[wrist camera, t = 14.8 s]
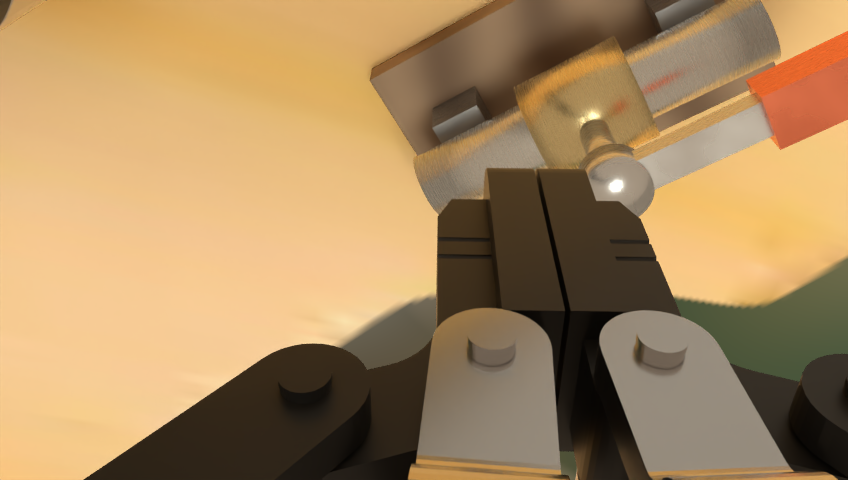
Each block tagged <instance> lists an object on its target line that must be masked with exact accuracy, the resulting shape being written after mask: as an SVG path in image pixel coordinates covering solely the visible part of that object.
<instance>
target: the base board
mask: <svg viewBox="0 0 848 480" xmlns="http://www.w3.org/2000/svg"><path fill="white" fill-rule="evenodd" d="M723 1H724V0H714V2H715V5H717V4H719V3H721V2H723ZM657 34H658V33H657V31H656V28H655V26H654V23H653V21H652V19H651V16H650V14H649V11H648V9H647V6H646V4H645V2H644V0H496V1H494V2H492V3H490V4H489V5H487V6H485V7H483V8H481V9H480V10H478V11H476V12H474V13H472V14H471V15H469V16H467V17H465V18H463V19H462V20H460V21H458V22H456V23H454V24H453V25H451V26H449V27H447V28H445V29H443V30H442V31H440V32H438V33H436V34H434V35H433V36H431V37H429V38H427V39H425V40H424V41H422V42H420V43H418V44H416V45H415V46H413V47H411V48H409V49H407V50H406V51H404V52H402V53H400V54H398V55H396V56H395V57H393V58H391V59H389V60H387V61H386V62H384V63H382V64H380V65H378V66H377V67H375V68H373V69H372V72H371V77H370V82H371V83H372V85H373V86H374V88H375V89H376V91H377V93H378V94H379V96H380V97H381V99H382V100H383V102H384V104H385V105H386V107H387V108H388V110H389V111H390V113H391V115H392V116H393V118H394V119H395V121H396V123H397V124H398V126H399V127H400V129H401V130H402V132H403V134H404V135H405V137H406V138H407V140H408V141H409V143H410V145H411V146H412V148H413V149H414V151H415V152H416V154H417V156H418V155H420V154H422V153H424V152H426V151H428V150H430V149H432V148H434V147H436V146H438V145H440V144H442V143H441V142H440V140H439V138H438V137H437V135H436V133H435V132H434V130H433V129H432V113H433V108H434V107H436V106H437V105H439V104H441V103H443V102H445V101H447V100H449V99H451V98H453V97H455V96H457V95H459V94H460V93H462V92H464V91H466V90H468V89H470V88H472V87H474V86H475V87H476V89H477V91H478V93H479V94H480V96H481V98H482V100H483V102H484V103H485V105H486V107H487V109H488V110H489V112H490V114H491V116H492V118H493V117H495V116H497V115H499V114H501V113H503V112H505V111H507V110H509V109H511V108H513V107H515V106H517V105H518V103H517V100H516V97H515V93H514V87H515V86H517V85H519V84H521V83H523V82H525V81H527V80H529V79H531V78H533V77H535V76H537V75H539V74H540V73H542V72H544V71H546V70H548V69H550V68H552V67H554V66H556V65H558V64H560V63H562V62H564V61H566V60H568V59H570V58H572V57H574V56H576V55H577V54H579V53H581V52H583V51H585V50H587V49H589V48H591V47H593V46H595V45H597V44H599V43H601V42H603V41H605V40H607V39H609V38H611V37H612V36H614V37H615V39H616V40H617V42H618V44H619V46H620V48H621V50H622V52H624V51H626V50H628V49H630V48H632V47H634V46H636V45H637V44H639V43H641V42H643V41H645V40H647V39H649V38H651V37H653V36H655V35H657ZM774 66H775V63H774V61H773V62H771V63H769V64H767V65H765V66H762V67H760V68H758V69H756V70H754V71H752V72H750V73H748V74H746V75H743V76H741V77H739V78H737V79H735V80H733V81H731V82H729V83H727V84H724V85H722V86H720V87H718V88H716V89H714V90H712V91H710V92H708V93H706V94H703V95H701V96H699V97H697V98H695V99H693V100H691V101H689V102H687V103H684V104H682V105H680V106H678V107H676V108H674V109H672V110H670V111H668V112H665V113H663V114H661V115H659V116H657V117H655V118H654V121H655V123H656V126H657V128H658V131H659V132H660V131H662V130H664V129H667V128H669V127H671V126H673V125H675V124H677V123H679V122H681V121H684V120H686V119H688V118H690V117H692V116H694V115H696V114H699V113H701V112H703V111H705V110H707V109H709V108H711V107H714V106H716V105H718V104H720V103H722V102H724V101H726V100H729V99H731V98H733V97H735V96H737V95H739V94H741V93H743V92H746V91H748V90H749V88H748V85H747V83H746V80H747V79H749V78H751V77H753V76H755V75H757V74H760V73H762V72H764V71H766V70H768V69H770V68H772V67H774ZM548 169H549V168H548Z"/></svg>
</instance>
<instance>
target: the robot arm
mask: <svg viewBox="0 0 848 480" xmlns="http://www.w3.org/2000/svg"><path fill="white" fill-rule="evenodd" d="M45 1H47V0H0V31H1V30H2V29H4V28H6V27H7V26H9V25H10V24H12V23H13V22H14V21H16V20H17V19H19V18H20V17H22V16H23V15H25V14H26V13H28V12H30V11H31V10H33V9H34V8H36V7H37V6H39V5H40V4H42V3H44V2H45ZM559 451H574V454H575V460H576V465H577V473H576V480H848V354H833V355H826V356H823V357H820V358H817V359H815V360H814V361H812V362H810V363H809V364H808V365H807V366H806V368H805V370H804V371H803V373H802V376H801V379H800V382H797V381H793V380H789V379H785V378H781V377H776V376H772V375H768V374H764V373H759V372H755V371H751V370H748V369H745V368H741V367H738V366H736V365H733V364H731V363H729V362H728V360H727V358H726V356H725V355H724V353H723V351H722V350H721V348H720V346H719V345H718V343H717V342H716V340H715V339H714V338H713V337H712V336H711V335H710V334H709V333H708V332H707V331H705V330H704V329H703V328H702V327H700V326H699V325H697V324H695V323H693V322H692V321H689V320H687V319H685V318H683V317H681V315H680V312H679V310H678V307H677V305H676V303H675V300H674V298H673V295H672V293H671V291H670V288H669V286H668V284H667V281H666V279H665V276H664V274H663V272H662V269H661V267H660V264H659V262H658V261H656V255H655V253H654V250H653V248H652V245H651V244H649V238H648V236H647V234H646V231H645V229H644V226H643V224H642V222H641V219H640V218H638V217H637V216H636V215H635V214H634V213H632V212H631V211H630V210H629V209H628V208H627V207H625V206H624V205H623V204H622V203H621V202H620V201H596V199H595V196H594V193H593V190H592V187H591V184H590V181H589V178H588V175H587V172H586V170H585V169H548V168H537V169H536V171H534V169H533V168H486V170H485V177H484V193H483V199H451V201H450V202H449V203H448V204H447V206H446V207H445V208H444V209H443V211H442V212H441V213H440V214H439V216H438V236H437V292H436V331H435V333H434V335H433V337H432V339H431V341H430V342H429V343H428V344H427V345H426V346H425V347H424V348H423V349H422V350H420V351H419V352H418V353H416V354H415V355H413V356H411V357H409V358H407V359H405V360H403V361H400V362H398V363H394V364H391V365H387V366H382V367H378V368H374V369H369V370H367V369H366V367H365V366H364V364H363V363H362V362H361V361H360V360H359V359H358V358H357V357H356V356H354V355H353V354H351V353H350V352H348V351H346V350H344V349H342V348H338V347H335V346H331V345H325V344H301V345H295V346H290V347H287V348H284V349H281V350H278V351H276V352H274V353H271V354H270V355H268V356H266V357H265V358H263V359H261V360H260V361H258V362H257V363H255V364H254V365H253V366H251V367H250V368H248V369H247V370H245V371H244V372H242V373H241V374H239V375H238V376H236V377H235V378H233V379H232V380H230V381H229V382H227V383H226V384H224V385H223V386H221V387H220V388H219V389H217V390H216V391H214V392H213V393H211V394H210V395H208V396H207V397H205V398H204V399H202V400H201V401H199V402H198V403H196V404H195V405H193V406H192V407H190V408H189V409H187V410H186V411H185V412H183V413H182V414H180V415H179V416H177V417H176V418H174V419H173V420H171V421H170V422H168V423H167V424H165V425H164V426H162V427H161V428H159V429H158V430H156V431H155V432H153V433H152V434H151V435H149V436H148V437H146V438H145V439H143V440H142V441H140V442H139V443H137V444H136V445H134V446H133V447H131V448H130V449H128V450H127V451H125V452H124V453H122V454H121V455H119V456H118V457H116V458H115V459H114V460H112V461H111V462H109V463H108V464H106V465H105V466H103V467H102V468H100V469H99V470H97V471H96V472H94V473H93V474H91V475H90V476H88V477H87V478H85V479H84V480H570V478H569V476H568V475H561V468H560V455H559Z"/></svg>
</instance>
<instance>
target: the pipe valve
mask: <svg viewBox="0 0 848 480" xmlns="http://www.w3.org/2000/svg"><path fill="white" fill-rule="evenodd" d="M644 2H645V4H646V6H647V9H648V11H649V14H650V16H651V19H652V21H653V23H654V26H655V28H656V31H657V33H658V34H657V35H655V36H653V37H651V38H649V39H647V40H645V41H643V42H641V43H639V44H637V45H636V46H634V47H632V48H630V49H628V50H626V51H624V52H622V50H621V48H620V46H619V44H618V42H617V40H616V39H615V37H614V36H612V37H611V38H609V39H607V40H605V41H603V42H601V43H599V44H597V45H595V46H593V47H591V48H589V49H587V50H585V51H583V52H581V53H579V54H577V55H576V56H574V57H572V58H570V59H568V60H566V61H564V62H562V63H560V64H558V65H556V66H554V67H552V68H550V69H548V70H546V71H544V72H542V73H540V74H539V75H537V76H535V77H533V78H531V79H529V80H527V81H525V82H523V83H521V84H519V85H517V86H515V87H514V93H515V97H516V100H517V103H518V105H517V106H515V107H513V108H511V109H509V110H507V111H505V112H503V113H501V114H499V115H497V116H495V117H493V118H492V116H491V114H490V112H489V110H488V109H487V107H486V105H485V103H484V102H483V100H482V98H481V96H480V94H479V93H478V91H477V89H476V87H475V86H474V87H472V88H470V89H468V90H466V91H464V92H462V93H460V94H459V95H457V96H455V97H453V98H451V99H449V100H447V101H445V102H443V103H441V104H439V105H437V106H436V107H434V108H433V113H432V129H433V130H434V132H435V133H436V135H437V137H438V138H439V140H440V142H441V143H442V144H440V145H438V146H436V147H434V148H432V149H430V150H428V151H426V152H424V153H422V154H420V155H418V156H416V157H415V158H414V168H415V172H416V175H417V178H418V181H419V183H420V186H421V188H422V190H423V192H424V194H425V196H426V198H427V200H428V201H429V203H430V204H431V206H432V207H433V209H434V210H435V211H436V212H437V213H438V214H440V213H441V212H442V211H443V209H444V208H445V207H446V206H447V204H448V203H449V202H450V201H451V199H483V193H484V177H485V170H486V168H533V169H534V171H536V169H537V168H549V169H578V168H579V165H580V163H581V161H582V160H583V159H584V157H585V156H586V155H587V154H588V153H589V152H591V151H592V150H594V149H595V148H597V147H599V146H602V145H605V144H612V143H618V144H624V145H627V146H629V147H632V148H634V147H636V146H638V145H640V144H642V143H644V142H647V141H649V140H651V139H653V138H655V137H657V136H659V135H660V134H659V131H658V128H657V126H656V123H655V121H654V118H655V117H657V116H659V115H661V114H663V113H665V112H668V111H670V110H672V109H674V108H676V107H678V106H680V105H682V104H684V103H687V102H689V101H691V100H693V99H695V98H697V97H699V96H701V95H703V94H706V93H708V92H710V91H712V90H714V89H716V88H718V87H720V86H722V85H724V84H727V83H729V82H731V81H733V80H735V79H737V78H739V77H741V76H743V75H746V74H748V73H750V72H752V71H754V70H756V69H758V68H760V67H762V66H765V65H767V64H769V63H771V62H773V61H775V60H777V59H779V58H780V56H781V51H780V45H779V41H778V38H777V35H776V32H775V29H774V27H773V24H772V22H771V20H770V18H769V15H768V13H767V12H766V10H765V8H764V6H763V4H762V3H761V1H760V0H724V1H723V2H721V3H719V4H717V5H715V2H714V0H644Z"/></svg>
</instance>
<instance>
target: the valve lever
mask: <svg viewBox="0 0 848 480" xmlns="http://www.w3.org/2000/svg"><path fill="white" fill-rule="evenodd" d="M746 83H747V85H748V88H749V91H750V93H751V95H749V96H747V97H745V98H743V99H741V100H739V101H737V102H734V103H732V104H730V105H728V106H726V107H724V108H722V109H720V110H718V111H715V112H713V113H711V114H709V115H707V116H705V117H703V118H701V119H699V120H697V121H694V122H692V123H690V124H688V125H686V126H684V127H682V128H680V129H678V130H675V131H673V132H671V133H669V134H667V135H665V136H663V137H661V138H659V139H656V140H654V141H652V142H650V143H648V144H646V145H644V146H642V147H640V148H638V149H633V148H632V147H629V146H627V145H624V144H618V143H612V144H605V145H602V146H599V147H597V148H595V149H594V150H592V151H591V152H589V153H588V154H587V155H586V156H585V157H584V159H583V160H582V161H581V163H580V165H579V168H578V169H585V170H586V172H587V175H588V178H589V181H590V184H591V187H592V190H593V193H594V196H595V199H596V201H620V202H621V203H622V204H623V205H624V206H625V207H627V208H628V209H629V210H630V211H631V212H632V213H634V214H635V215H636V216H637V217H639V216H640V215H641V214H643V213H644V212H645V211H646V210H647V208H648V207H649V206H650V204H651V202H652V200H653V197H654V190H655V189H657V188H659V187H662V186H664V185H666V184H668V183H670V182H673V181H675V180H677V179H679V178H681V177H684V176H686V175H688V174H690V173H692V172H695V171H697V170H699V169H701V168H703V167H706V166H708V165H710V164H712V163H714V162H717V161H719V160H721V159H723V158H725V157H728V156H730V155H732V154H734V153H736V152H739V151H741V150H743V149H745V148H747V147H750V146H752V145H754V144H756V143H758V142H760V141H763V140H765V139H767V138H769V137H770V138H771V139H772V140H773V141H774V143H775V144H776V145H777V146H778V147H779V149H780V150H781V149H783V148H785V147H788V146H790V145H792V144H794V143H797V142H799V141H801V140H803V139H805V138H808V137H810V136H812V135H814V134H817V133H819V132H821V131H823V130H826V129H828V128H830V127H832V126H834V125H837V124H839V123H841V122H843V121H846V120H848V31H847V32H845V33H843V34H841V35H839V36H836V37H834V38H832V39H830V40H828V41H826V42H824V43H822V44H820V45H818V46H816V47H814V48H812V49H809V50H807V51H805V52H803V53H801V54H799V55H797V56H795V57H793V58H791V59H789V60H787V61H784V62H782V63H780V64H778V65H776V66H774V67H772V68H770V69H768V70H766V71H764V72H762V73H760V74H757V75H755V76H753V77H751V78H749V79H747V80H746Z"/></svg>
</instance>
